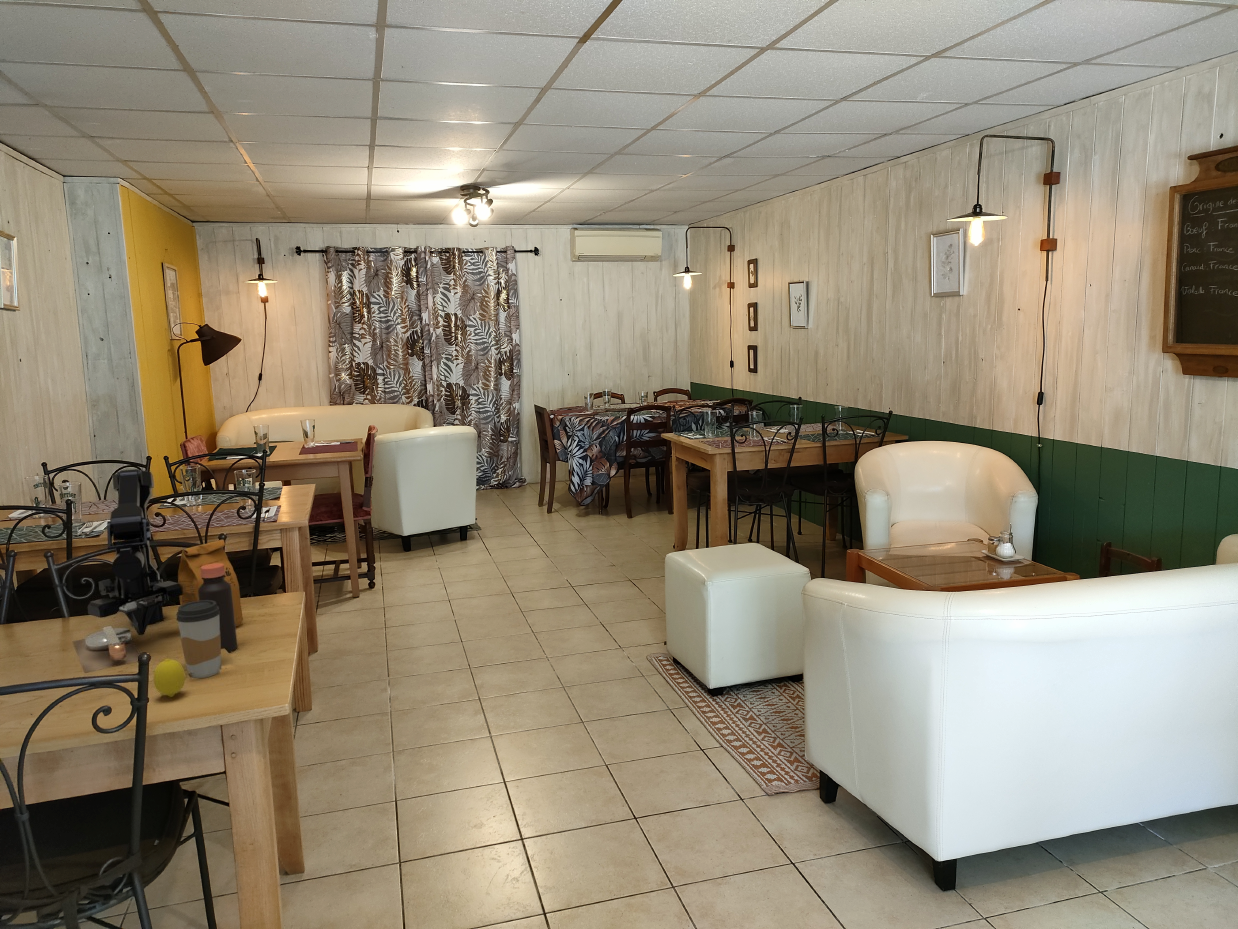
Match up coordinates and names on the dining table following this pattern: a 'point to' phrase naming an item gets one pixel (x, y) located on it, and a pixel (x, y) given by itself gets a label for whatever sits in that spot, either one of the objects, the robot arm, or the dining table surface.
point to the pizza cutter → (110, 641)
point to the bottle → (220, 602)
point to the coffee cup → (200, 637)
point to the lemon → (169, 677)
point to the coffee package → (192, 574)
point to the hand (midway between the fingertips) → (141, 634)
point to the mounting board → (102, 656)
